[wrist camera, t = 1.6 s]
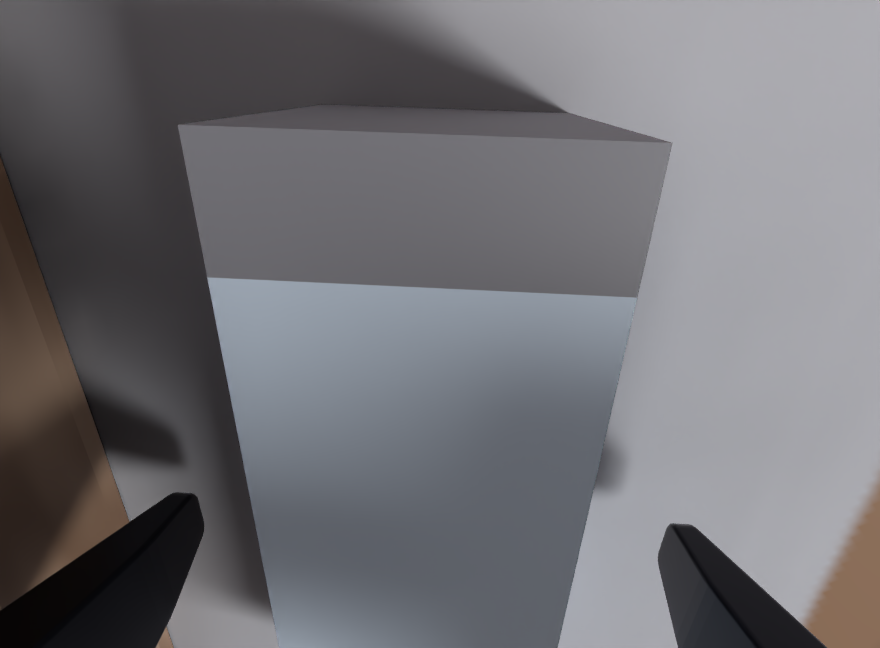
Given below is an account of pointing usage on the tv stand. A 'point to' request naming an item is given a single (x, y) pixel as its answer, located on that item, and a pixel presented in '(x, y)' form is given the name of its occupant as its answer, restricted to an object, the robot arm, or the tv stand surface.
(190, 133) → the long pale blue block
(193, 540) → the robot arm
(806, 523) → the tv stand surface
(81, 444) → the open brown box
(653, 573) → the tv stand surface
